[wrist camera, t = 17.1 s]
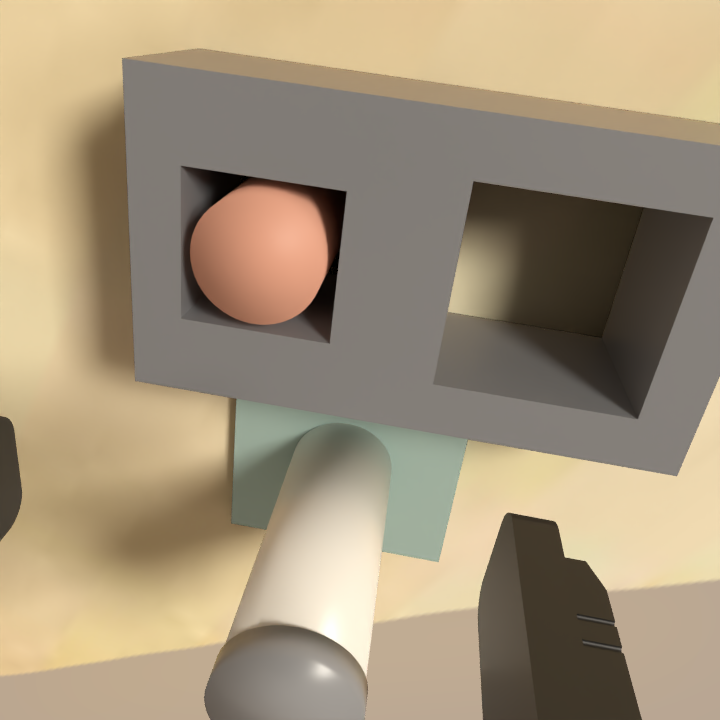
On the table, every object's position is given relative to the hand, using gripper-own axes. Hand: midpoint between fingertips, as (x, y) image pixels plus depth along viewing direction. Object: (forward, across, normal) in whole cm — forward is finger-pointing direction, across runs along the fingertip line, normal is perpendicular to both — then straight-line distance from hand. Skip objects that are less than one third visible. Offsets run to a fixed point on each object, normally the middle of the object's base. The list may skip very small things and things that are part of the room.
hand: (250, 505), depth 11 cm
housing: (+16, -3, 0) cm, 17 cm away
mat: (+16, -1, +11) cm, 20 cm away
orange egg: (+16, +2, 0) cm, 16 cm away
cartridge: (+15, -1, +11) cm, 19 cm away
